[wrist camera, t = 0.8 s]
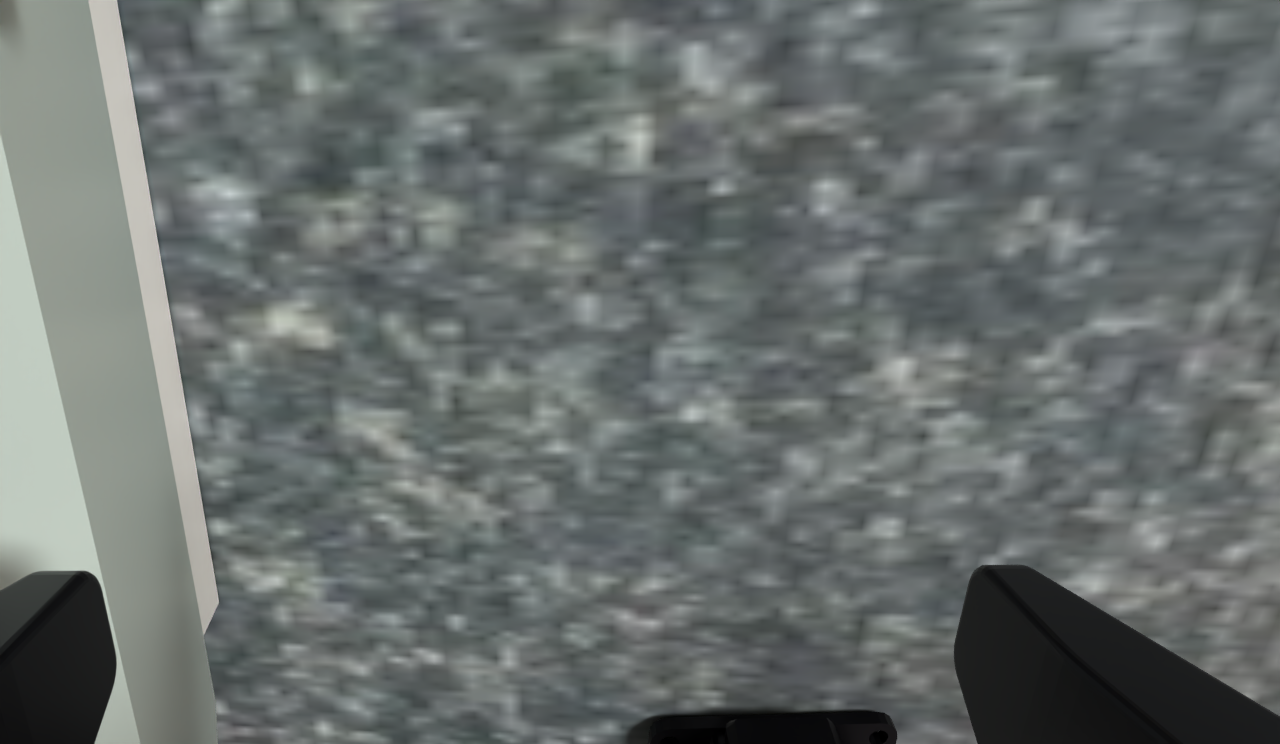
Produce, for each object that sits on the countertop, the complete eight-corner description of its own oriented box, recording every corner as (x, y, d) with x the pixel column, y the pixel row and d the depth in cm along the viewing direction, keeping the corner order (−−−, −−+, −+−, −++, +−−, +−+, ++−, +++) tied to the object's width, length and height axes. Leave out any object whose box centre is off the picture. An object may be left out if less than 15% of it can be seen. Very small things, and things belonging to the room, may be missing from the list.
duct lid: (172, 712, 20) (246, 695, 21) (173, 1202, 13) (288, 1156, 13) (-98, -593, 12) (40, -568, 12) (-583, -1424, 4) (-171, -1264, 5)
